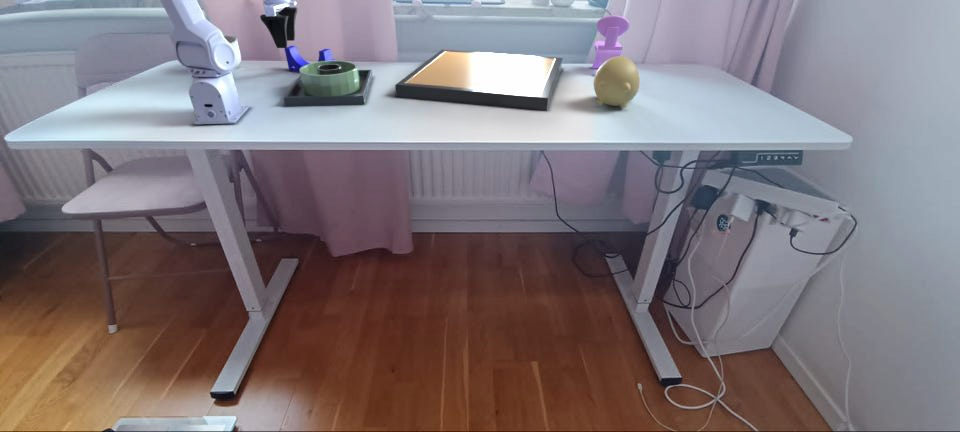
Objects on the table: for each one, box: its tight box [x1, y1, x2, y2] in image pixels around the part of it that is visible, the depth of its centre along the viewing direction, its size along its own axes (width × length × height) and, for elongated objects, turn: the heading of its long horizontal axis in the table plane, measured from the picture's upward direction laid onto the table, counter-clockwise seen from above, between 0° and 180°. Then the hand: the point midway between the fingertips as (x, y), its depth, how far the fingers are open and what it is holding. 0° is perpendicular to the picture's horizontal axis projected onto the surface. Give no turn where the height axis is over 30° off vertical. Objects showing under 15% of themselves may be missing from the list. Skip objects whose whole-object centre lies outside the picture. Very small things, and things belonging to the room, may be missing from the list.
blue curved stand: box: [284, 45, 336, 73], centre depth 124 cm, size 12×4×6 cm, turn 73°
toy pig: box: [593, 55, 641, 109], centre depth 103 cm, size 10×12×11 cm
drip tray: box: [283, 69, 373, 107], centre depth 111 cm, size 21×17×2 cm
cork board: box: [394, 49, 563, 112], centre depth 118 cm, size 36×3×35 cm
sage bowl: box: [299, 59, 360, 96], centre depth 110 cm, size 13×13×6 cm
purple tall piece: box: [591, 14, 630, 76], centre depth 123 cm, size 8×9×15 cm
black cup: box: [317, 64, 342, 75], centre depth 110 cm, size 6×6×5 cm
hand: (286, 44), depth 109 cm, fingers open, 7 cm apart
